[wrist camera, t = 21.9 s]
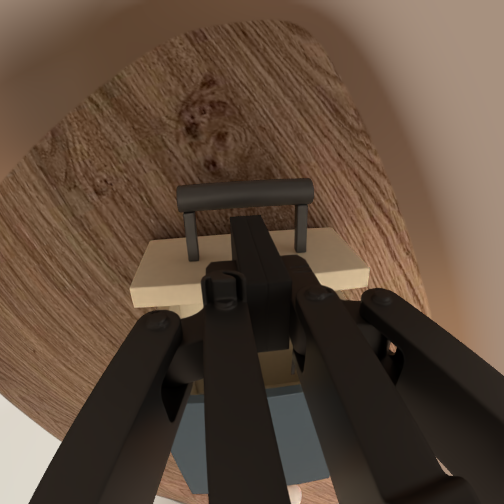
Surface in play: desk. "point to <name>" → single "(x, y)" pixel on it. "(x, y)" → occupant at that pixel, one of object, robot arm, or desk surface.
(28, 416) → the desk surface
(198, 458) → the cabinet
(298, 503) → the egg
